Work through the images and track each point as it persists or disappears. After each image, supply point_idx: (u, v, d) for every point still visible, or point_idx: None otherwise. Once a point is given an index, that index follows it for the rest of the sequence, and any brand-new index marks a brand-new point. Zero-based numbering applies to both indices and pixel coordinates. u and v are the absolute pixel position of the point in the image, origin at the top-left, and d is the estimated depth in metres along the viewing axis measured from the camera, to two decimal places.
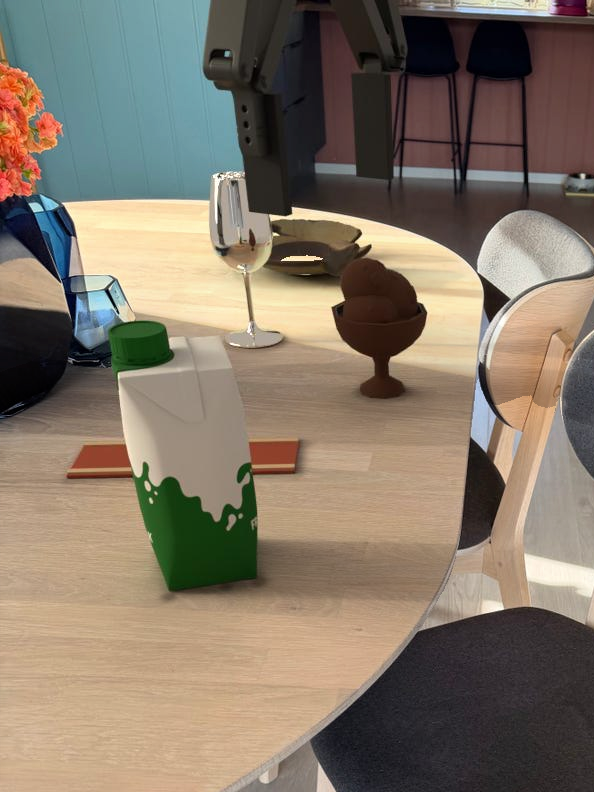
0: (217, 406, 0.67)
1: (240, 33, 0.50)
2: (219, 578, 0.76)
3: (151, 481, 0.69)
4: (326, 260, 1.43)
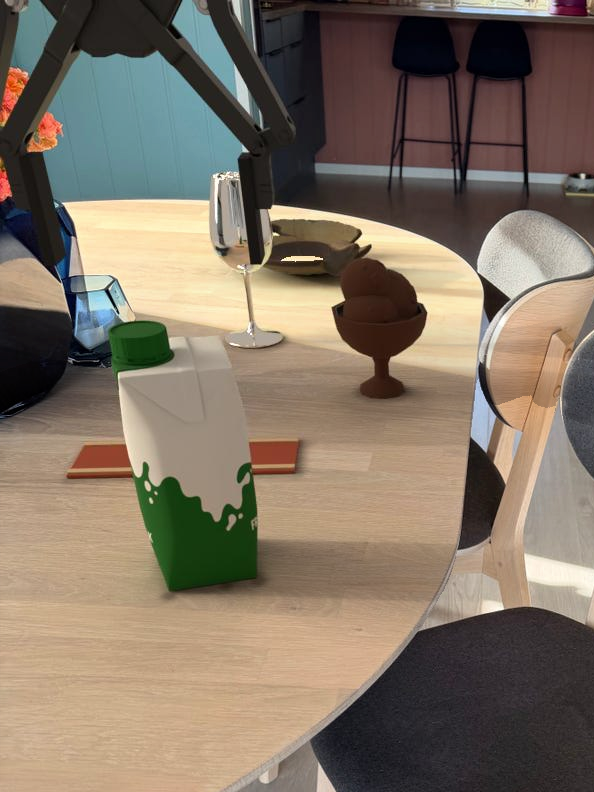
0: (217, 406, 0.67)
1: None
2: (219, 578, 0.76)
3: (151, 481, 0.69)
4: (326, 260, 1.43)
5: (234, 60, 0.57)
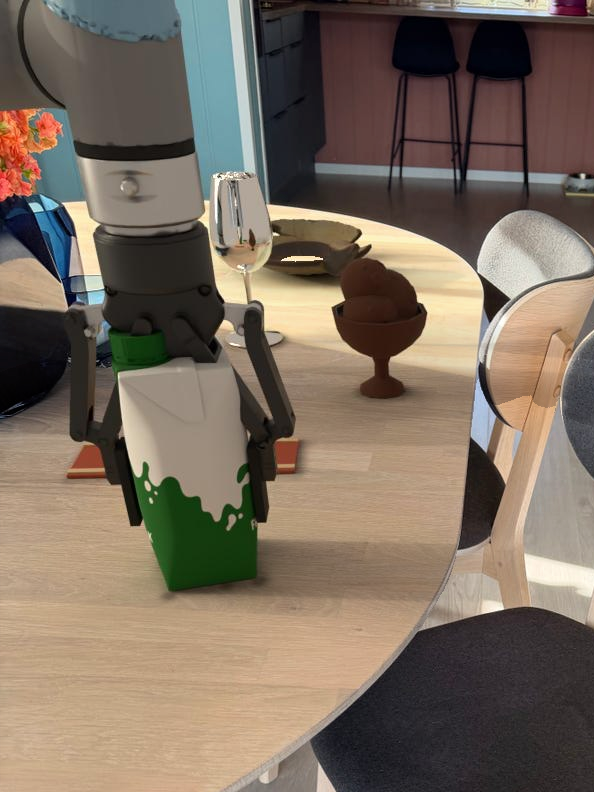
0: (217, 406, 0.67)
1: (70, 412, 0.69)
2: (219, 578, 0.76)
3: (151, 481, 0.69)
4: (326, 260, 1.43)
5: (257, 373, 0.68)
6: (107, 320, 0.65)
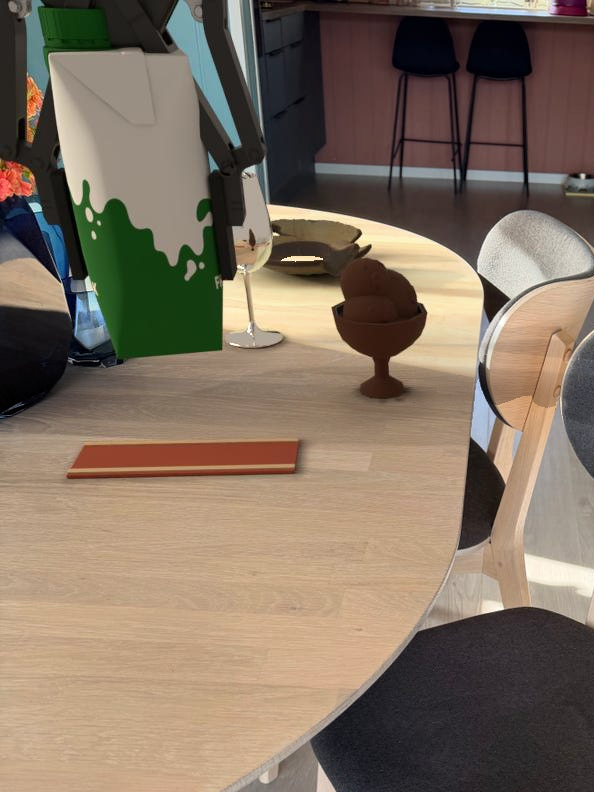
0: (170, 107, 0.56)
1: None
2: (178, 347, 0.65)
3: (93, 207, 0.58)
4: (326, 260, 1.43)
5: (219, 72, 0.57)
6: None
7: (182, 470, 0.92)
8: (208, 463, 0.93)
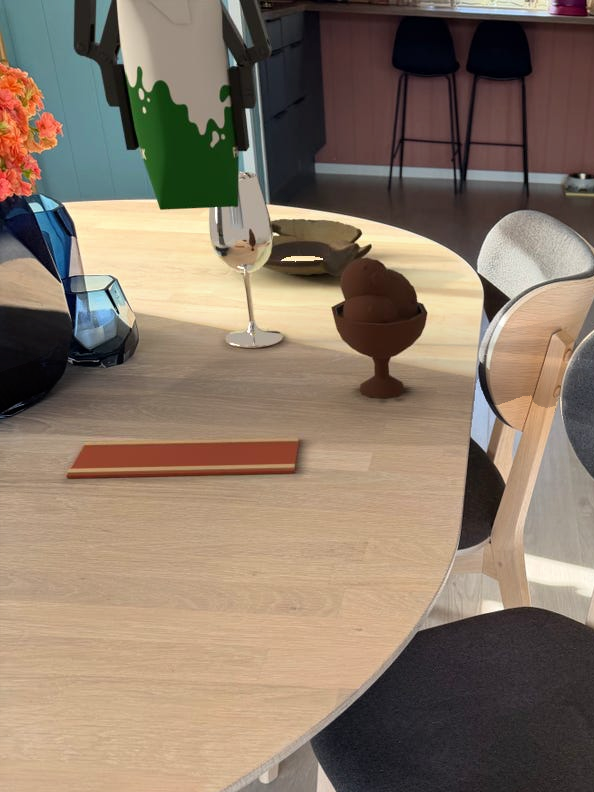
0: (202, 11, 0.78)
1: (74, 24, 0.79)
2: (204, 201, 0.86)
3: (145, 87, 0.80)
4: (326, 260, 1.43)
5: None
6: None
7: (182, 470, 0.92)
8: (208, 463, 0.93)
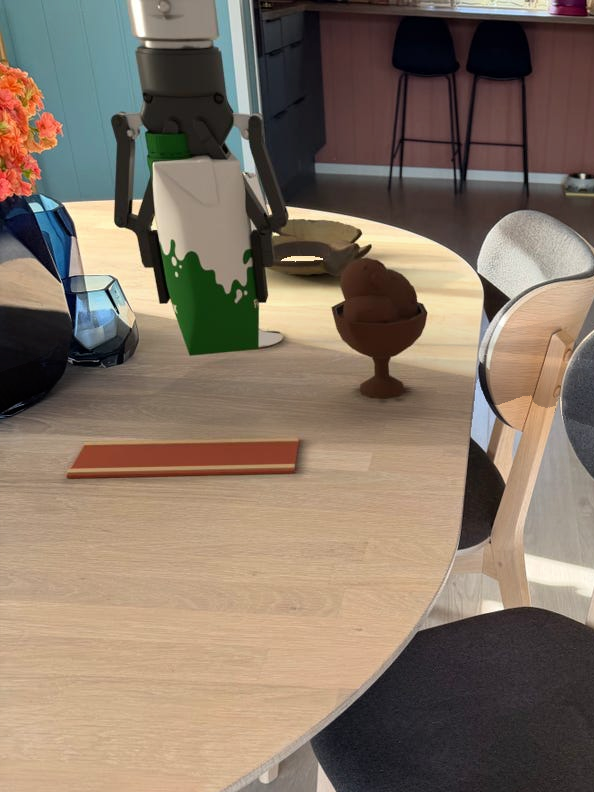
0: (228, 193, 0.88)
1: (115, 202, 0.89)
2: (229, 347, 0.96)
3: (177, 256, 0.90)
4: (326, 260, 1.43)
5: (258, 170, 0.89)
6: (144, 123, 0.86)
7: (182, 470, 0.92)
8: (208, 463, 0.93)
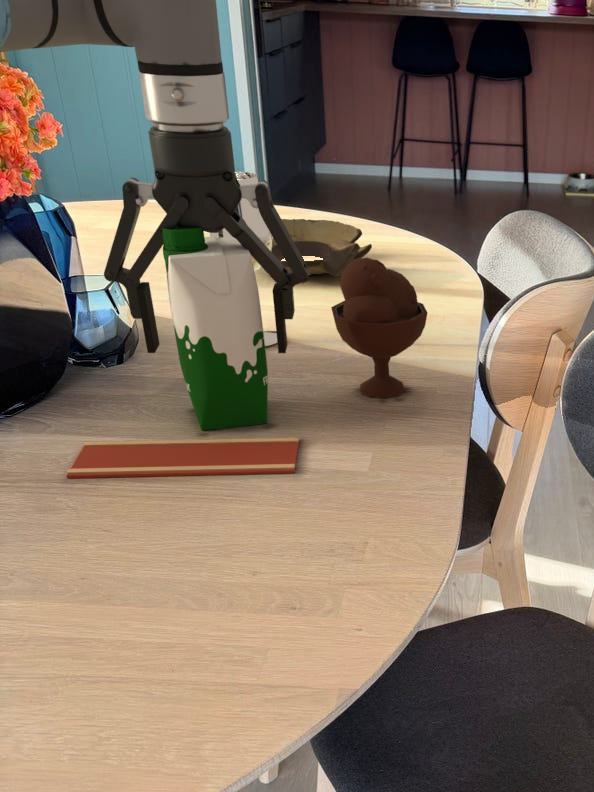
0: (239, 283, 0.93)
1: None
2: (239, 422, 1.01)
3: (191, 341, 0.95)
4: (326, 260, 1.43)
5: (272, 234, 0.92)
6: (155, 196, 0.90)
7: (182, 470, 0.92)
8: (208, 463, 0.93)
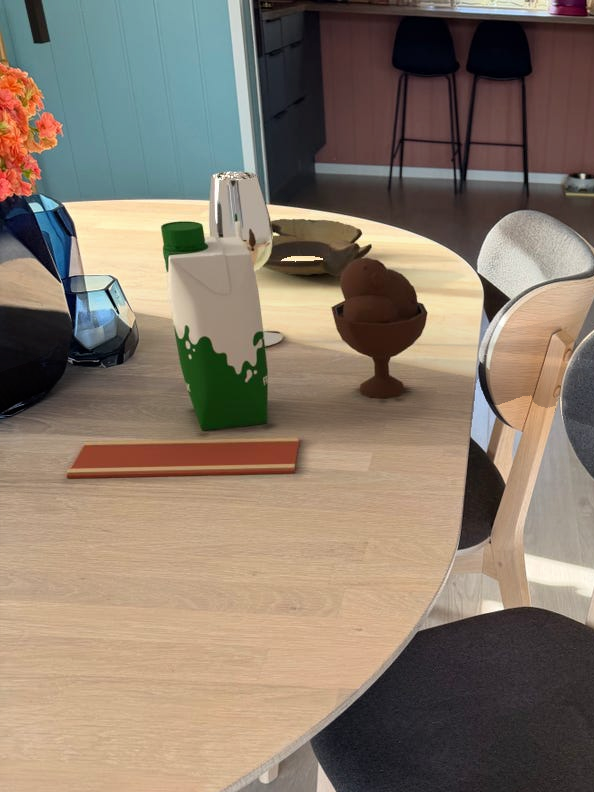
0: (239, 283, 0.93)
1: None
2: (239, 422, 1.01)
3: (191, 341, 0.95)
4: (326, 260, 1.43)
5: None
6: None
7: (182, 470, 0.92)
8: (208, 463, 0.93)
